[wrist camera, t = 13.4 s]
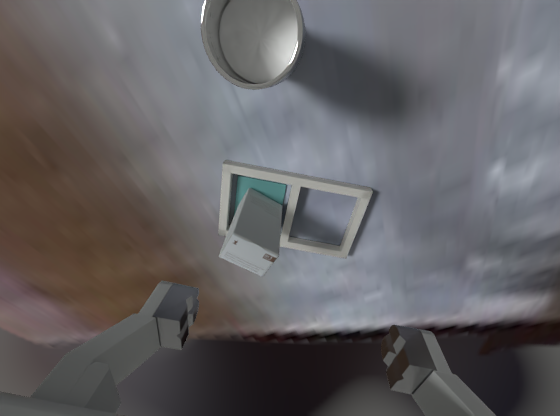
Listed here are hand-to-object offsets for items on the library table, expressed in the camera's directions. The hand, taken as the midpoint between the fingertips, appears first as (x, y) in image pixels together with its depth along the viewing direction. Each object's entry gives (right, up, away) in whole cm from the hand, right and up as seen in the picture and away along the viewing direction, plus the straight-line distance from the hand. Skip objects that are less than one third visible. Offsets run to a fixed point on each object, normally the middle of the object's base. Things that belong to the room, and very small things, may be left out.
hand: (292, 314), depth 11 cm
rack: (+1, +2, +30) cm, 30 cm away
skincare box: (-3, +5, +29) cm, 30 cm away
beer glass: (-1, +23, +19) cm, 30 cm away
